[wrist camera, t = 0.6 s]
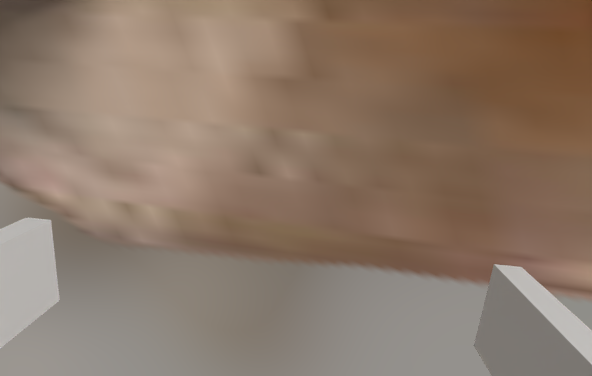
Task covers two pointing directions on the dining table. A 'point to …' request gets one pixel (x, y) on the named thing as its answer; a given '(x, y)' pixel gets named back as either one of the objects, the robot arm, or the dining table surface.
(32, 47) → the dining table surface
